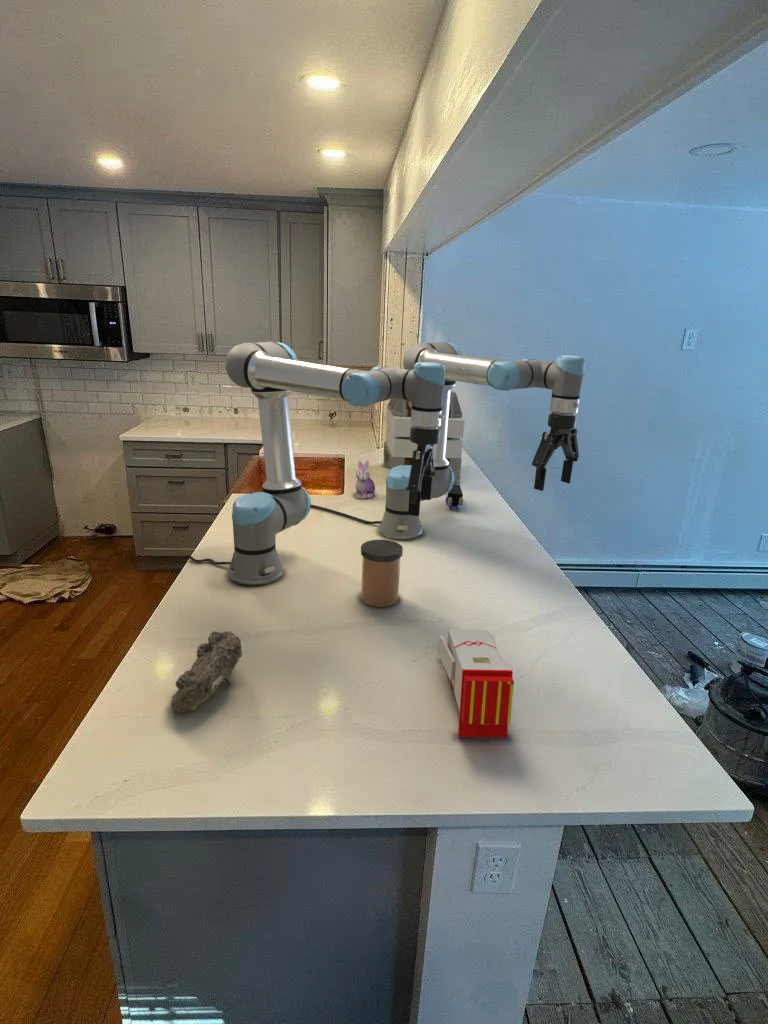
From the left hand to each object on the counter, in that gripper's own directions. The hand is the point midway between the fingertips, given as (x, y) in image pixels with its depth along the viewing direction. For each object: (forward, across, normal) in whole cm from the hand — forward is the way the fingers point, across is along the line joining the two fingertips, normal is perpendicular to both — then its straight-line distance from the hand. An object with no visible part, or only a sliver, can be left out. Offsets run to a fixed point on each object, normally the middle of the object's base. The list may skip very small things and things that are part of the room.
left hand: (419, 507), depth 149 cm
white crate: (+26, +122, +27) cm, 128 cm away
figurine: (+26, +78, +40) cm, 91 cm away
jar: (+26, -5, +8) cm, 28 cm away
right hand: (-2, +29, -33) cm, 44 cm away
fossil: (+26, -52, +30) cm, 66 cm away
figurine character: (+26, +80, +3) cm, 84 cm away
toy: (+26, -37, -21) cm, 50 cm away
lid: (+11, -5, +8) cm, 15 cm away
